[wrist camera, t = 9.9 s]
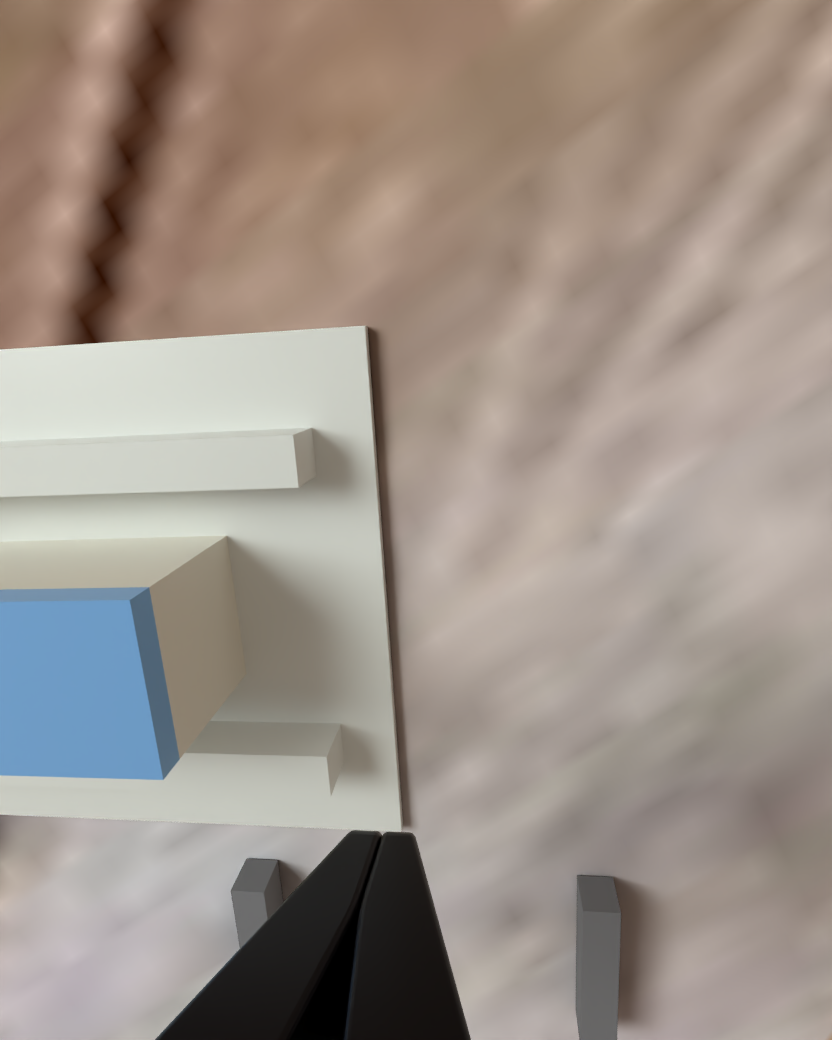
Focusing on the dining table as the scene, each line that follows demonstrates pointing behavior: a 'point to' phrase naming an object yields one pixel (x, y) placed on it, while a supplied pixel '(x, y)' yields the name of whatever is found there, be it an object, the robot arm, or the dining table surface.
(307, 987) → the robot arm
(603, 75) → the dining table surface
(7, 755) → the plug
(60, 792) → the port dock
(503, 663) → the dining table surface
